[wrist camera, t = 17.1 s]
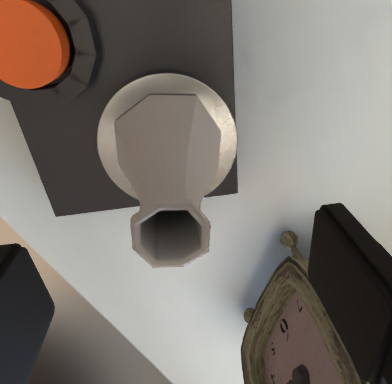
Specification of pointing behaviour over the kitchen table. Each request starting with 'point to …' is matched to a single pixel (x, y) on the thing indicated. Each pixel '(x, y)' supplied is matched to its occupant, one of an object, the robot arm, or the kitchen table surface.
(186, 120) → the flask
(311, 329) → the tabletop clock
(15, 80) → the scale button
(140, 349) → the kitchen table surface
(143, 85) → the weighing pan
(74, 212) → the scale
